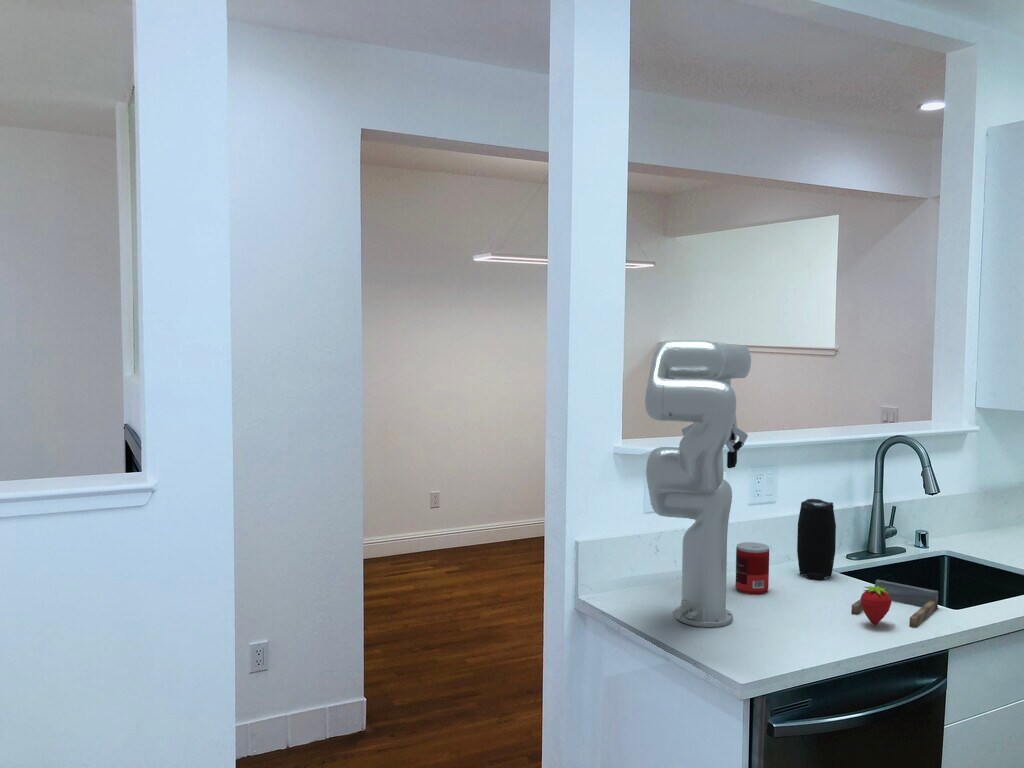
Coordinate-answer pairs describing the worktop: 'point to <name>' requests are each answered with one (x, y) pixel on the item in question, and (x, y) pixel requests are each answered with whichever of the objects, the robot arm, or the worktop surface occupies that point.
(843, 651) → the worktop surface
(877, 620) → the strawberry
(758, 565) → the canned food
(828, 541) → the portable speaker
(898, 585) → the frame
